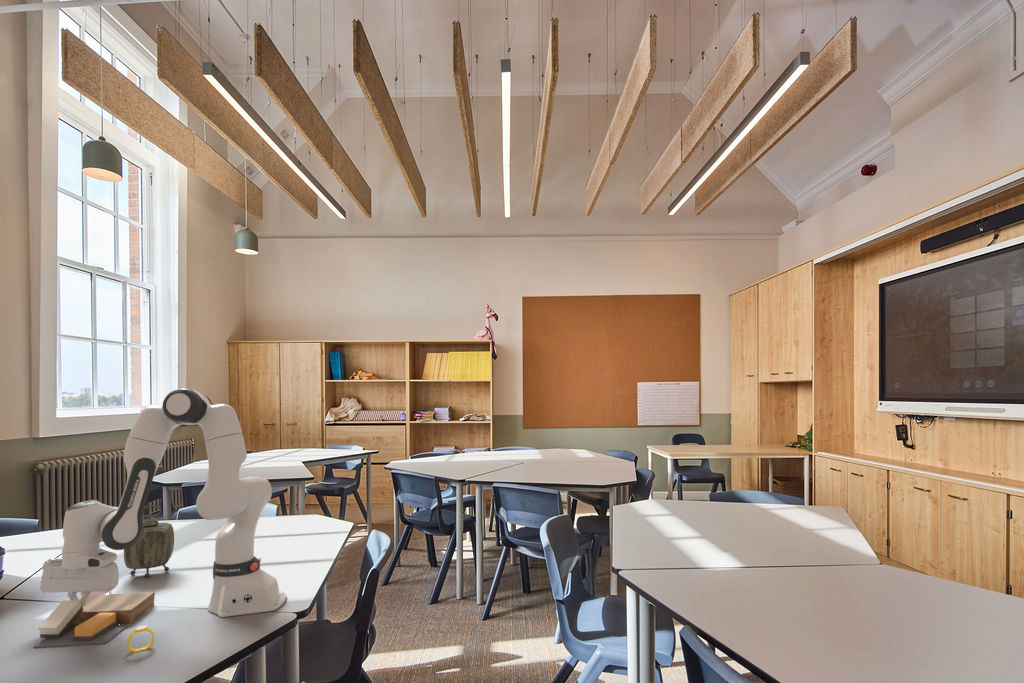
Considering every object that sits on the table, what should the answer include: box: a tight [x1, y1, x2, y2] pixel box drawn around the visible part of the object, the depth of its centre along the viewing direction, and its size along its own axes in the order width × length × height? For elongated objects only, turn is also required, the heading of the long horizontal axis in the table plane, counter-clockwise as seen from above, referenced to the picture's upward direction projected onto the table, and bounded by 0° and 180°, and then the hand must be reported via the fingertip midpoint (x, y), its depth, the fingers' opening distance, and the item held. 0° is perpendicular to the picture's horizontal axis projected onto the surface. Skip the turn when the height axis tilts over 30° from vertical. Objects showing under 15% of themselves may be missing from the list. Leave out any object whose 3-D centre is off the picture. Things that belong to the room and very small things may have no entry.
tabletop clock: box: [123, 504, 175, 579], centre depth 210 cm, size 14×9×25 cm, turn 111°
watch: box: [126, 624, 155, 654], centre depth 153 cm, size 6×3×6 cm, turn 124°
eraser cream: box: [38, 599, 83, 639], centre depth 163 cm, size 5×10×4 cm, turn 3°
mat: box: [33, 624, 130, 649], centre depth 161 cm, size 18×12×1 cm, turn 97°
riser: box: [69, 591, 156, 627], centre depth 174 cm, size 21×14×4 cm, turn 97°
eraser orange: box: [73, 613, 117, 641], centre depth 162 cm, size 5×10×4 cm, turn 0°
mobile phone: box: [89, 589, 114, 595], centre depth 196 cm, size 8×1×15 cm
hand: (78, 606), depth 169 cm, fingers closed, pressing on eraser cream
